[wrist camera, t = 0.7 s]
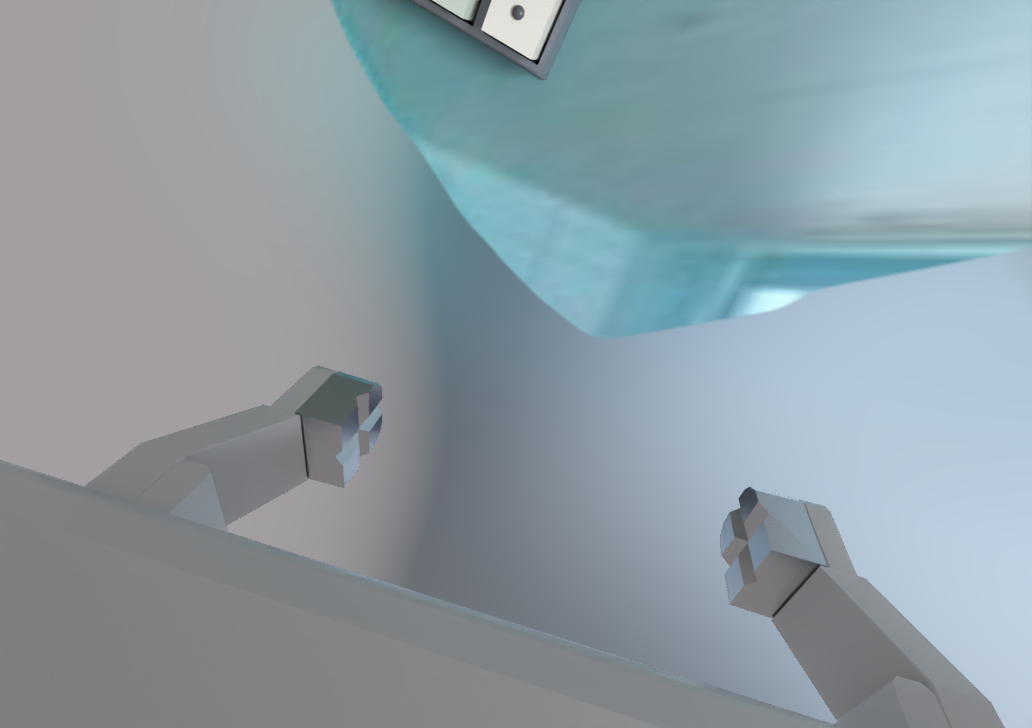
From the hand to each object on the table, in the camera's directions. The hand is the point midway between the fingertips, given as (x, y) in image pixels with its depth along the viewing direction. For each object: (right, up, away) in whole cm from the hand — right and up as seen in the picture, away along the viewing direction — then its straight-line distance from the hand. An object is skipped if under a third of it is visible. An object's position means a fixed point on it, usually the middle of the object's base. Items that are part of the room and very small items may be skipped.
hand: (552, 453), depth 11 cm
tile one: (0, +30, +28) cm, 41 cm away
